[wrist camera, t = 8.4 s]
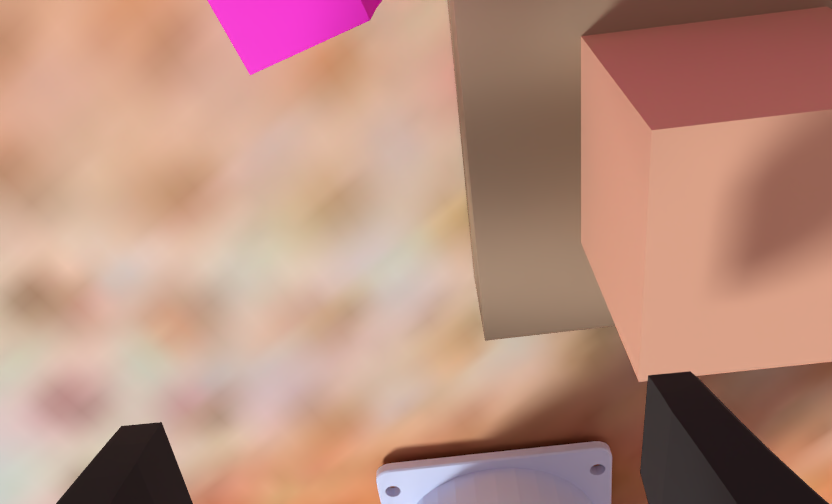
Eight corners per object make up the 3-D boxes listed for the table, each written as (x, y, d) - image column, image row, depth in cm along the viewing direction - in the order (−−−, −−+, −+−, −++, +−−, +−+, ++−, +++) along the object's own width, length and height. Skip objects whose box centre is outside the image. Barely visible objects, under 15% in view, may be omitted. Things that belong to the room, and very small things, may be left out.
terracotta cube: (791, 219, 18) (913, 353, 14) (580, 242, 18) (638, 381, 14) (826, 6, 16) (991, 90, 11) (581, 36, 16) (651, 130, 11)
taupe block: (820, 236, 22) (876, 296, 19) (474, 276, 22) (485, 340, 20) (891, -153, 17) (981, -142, 14) (438, -92, 17) (447, -70, 15)
